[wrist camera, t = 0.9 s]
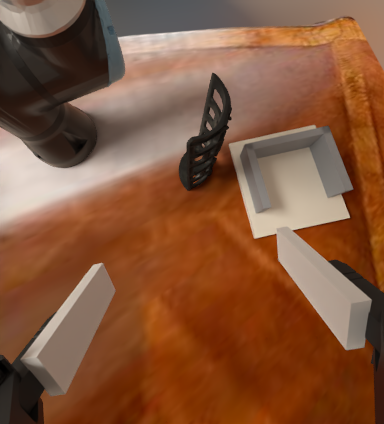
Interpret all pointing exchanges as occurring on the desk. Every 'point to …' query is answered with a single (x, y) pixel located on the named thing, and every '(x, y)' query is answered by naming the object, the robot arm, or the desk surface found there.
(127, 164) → the desk surface
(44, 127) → the robot arm
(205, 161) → the holder
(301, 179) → the bay
